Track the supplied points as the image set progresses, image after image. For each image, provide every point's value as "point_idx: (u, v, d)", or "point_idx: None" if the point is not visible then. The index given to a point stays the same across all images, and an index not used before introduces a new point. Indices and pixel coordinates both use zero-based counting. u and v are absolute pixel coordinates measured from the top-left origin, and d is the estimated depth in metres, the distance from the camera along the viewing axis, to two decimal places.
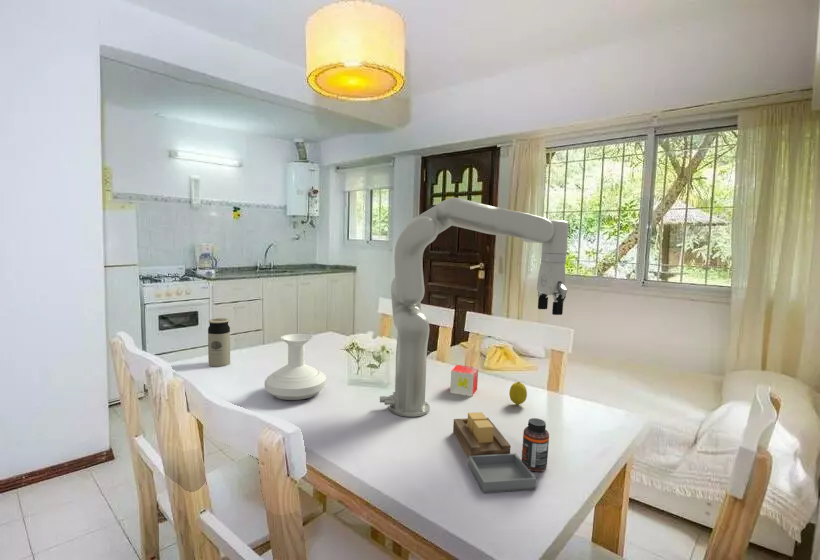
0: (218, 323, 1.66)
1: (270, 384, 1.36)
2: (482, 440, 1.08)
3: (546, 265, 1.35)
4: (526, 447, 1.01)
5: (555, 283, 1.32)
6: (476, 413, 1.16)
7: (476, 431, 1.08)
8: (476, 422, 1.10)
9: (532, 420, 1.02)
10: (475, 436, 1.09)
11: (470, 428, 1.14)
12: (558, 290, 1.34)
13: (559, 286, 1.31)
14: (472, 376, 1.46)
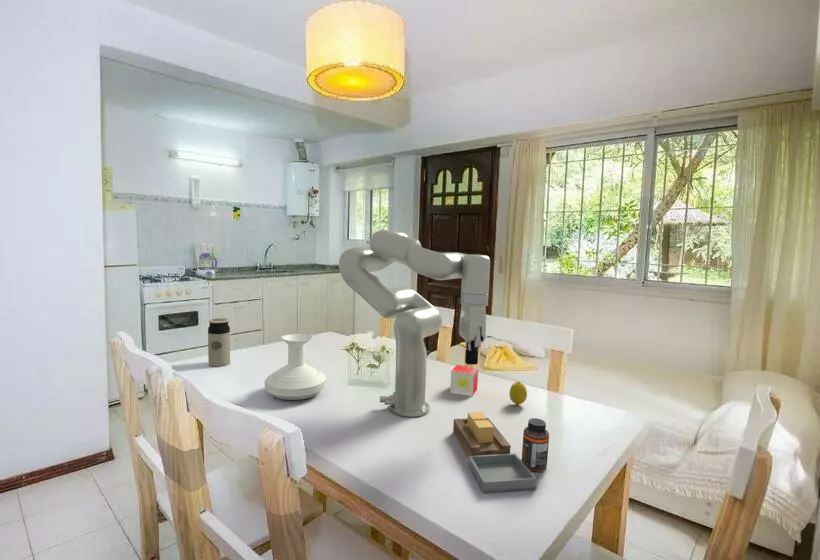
0: (218, 323, 1.66)
1: (270, 384, 1.36)
2: (482, 440, 1.08)
3: (466, 307, 1.17)
4: (526, 447, 1.01)
5: (473, 329, 1.14)
6: (476, 413, 1.16)
7: (476, 431, 1.08)
8: (476, 422, 1.10)
9: (532, 420, 1.02)
10: (475, 436, 1.09)
11: (470, 428, 1.14)
12: None
13: (476, 343, 1.15)
14: (472, 376, 1.46)
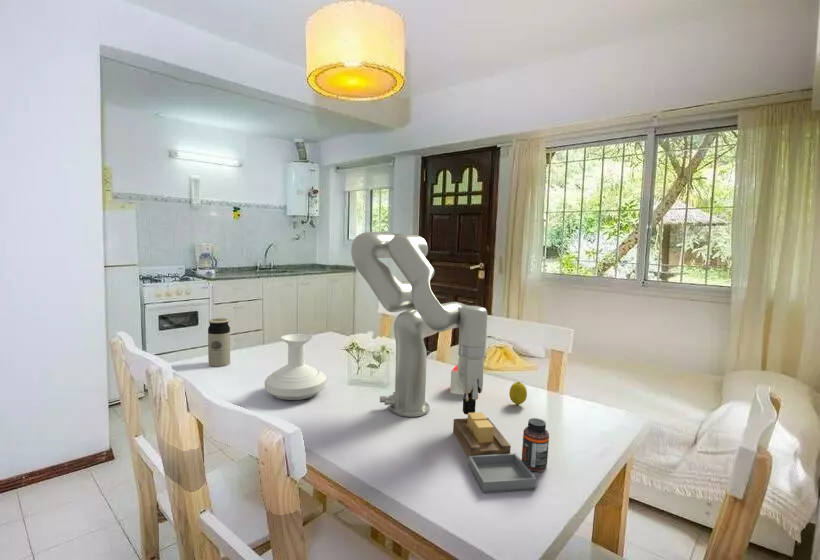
0: (218, 323, 1.66)
1: (270, 384, 1.36)
2: (482, 440, 1.08)
3: (463, 358, 1.19)
4: (526, 447, 1.01)
5: (471, 381, 1.15)
6: (476, 413, 1.16)
7: (476, 431, 1.08)
8: (476, 422, 1.10)
9: (532, 420, 1.02)
10: (475, 436, 1.09)
11: (470, 428, 1.14)
12: None
13: (473, 395, 1.16)
14: None
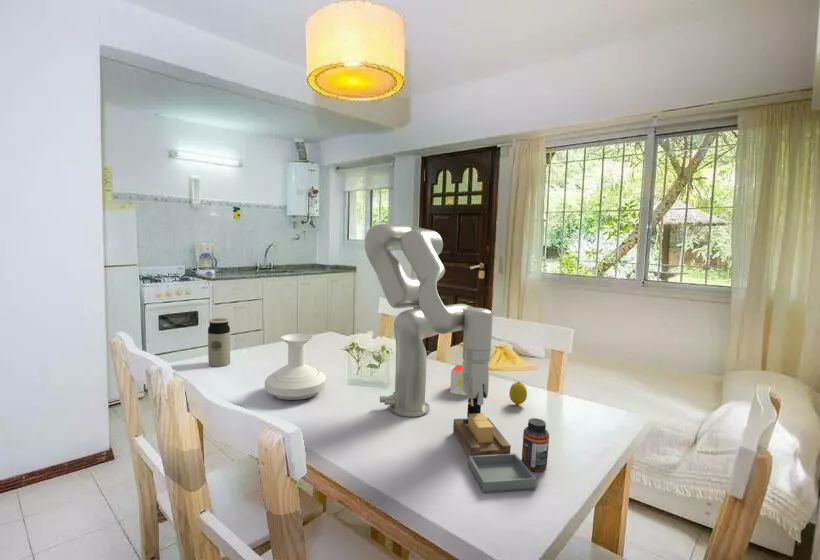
0: (218, 323, 1.66)
1: (270, 384, 1.36)
2: (482, 440, 1.08)
3: (468, 362, 1.15)
4: (526, 447, 1.01)
5: (476, 386, 1.11)
6: (477, 414, 1.15)
7: (476, 431, 1.08)
8: (476, 422, 1.10)
9: (532, 420, 1.02)
10: (475, 436, 1.09)
11: (471, 429, 1.13)
12: None
13: (478, 400, 1.12)
14: None
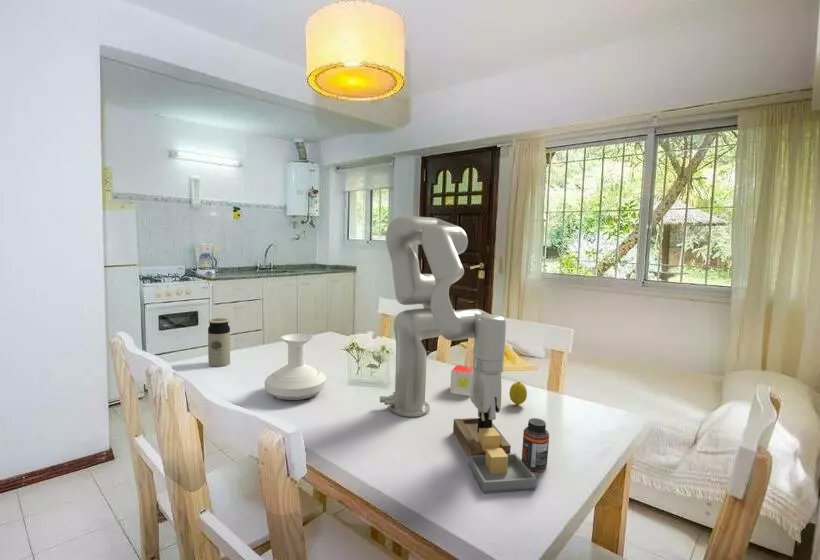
0: (218, 323, 1.66)
1: (270, 384, 1.36)
2: None
3: (479, 373, 1.06)
4: (526, 447, 1.01)
5: (488, 399, 1.03)
6: (488, 429, 1.06)
7: (488, 466, 0.99)
8: (493, 461, 0.98)
9: (532, 420, 1.02)
10: (486, 458, 1.01)
11: (482, 445, 1.04)
12: None
13: (490, 415, 1.03)
14: None
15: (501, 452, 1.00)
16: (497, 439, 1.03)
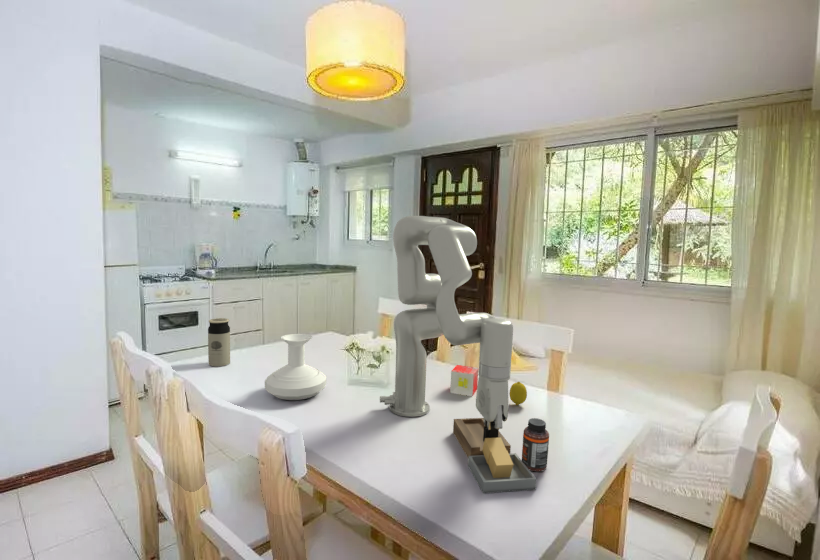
0: (218, 323, 1.66)
1: (270, 384, 1.36)
2: None
3: (485, 380, 1.01)
4: (526, 447, 1.01)
5: (494, 408, 0.98)
6: (494, 439, 1.02)
7: (492, 469, 0.97)
8: (497, 468, 0.95)
9: (532, 420, 1.02)
10: (490, 459, 0.99)
11: (486, 457, 1.01)
12: None
13: (497, 424, 0.99)
14: (472, 376, 1.46)
15: (506, 457, 0.97)
16: None
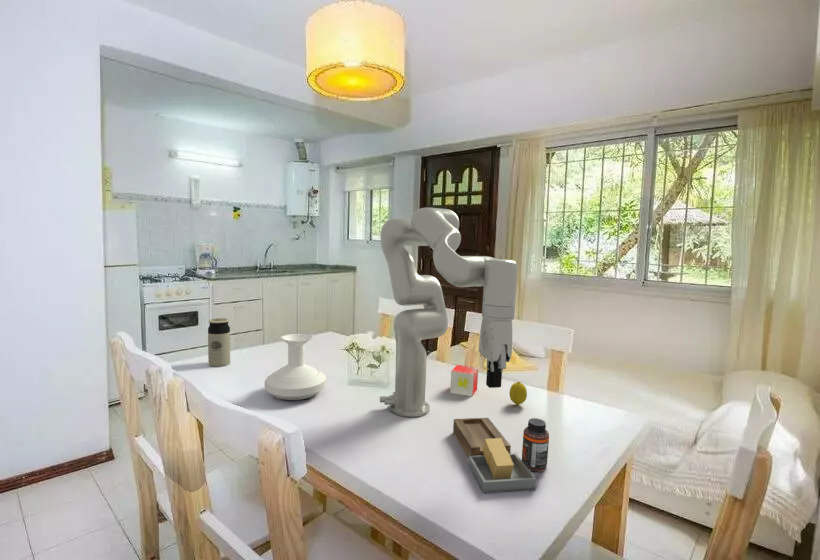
0: (218, 323, 1.66)
1: (270, 384, 1.36)
2: None
3: (488, 321, 1.00)
4: (526, 447, 1.01)
5: (498, 347, 0.96)
6: (494, 440, 1.02)
7: (492, 469, 0.97)
8: (497, 469, 0.95)
9: (532, 420, 1.02)
10: (490, 460, 0.98)
11: (486, 457, 1.01)
12: None
13: (500, 363, 0.97)
14: (472, 376, 1.46)
15: (507, 457, 0.97)
16: None
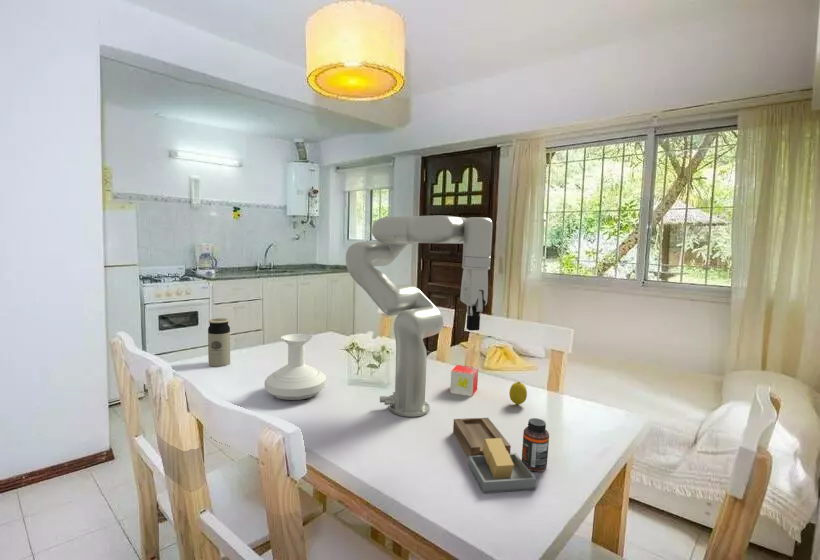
0: (218, 323, 1.66)
1: (270, 384, 1.36)
2: None
3: (467, 271, 1.14)
4: (526, 447, 1.01)
5: (475, 292, 1.11)
6: (494, 440, 1.02)
7: (492, 469, 0.97)
8: (497, 469, 0.95)
9: (532, 420, 1.02)
10: (490, 460, 0.98)
11: (486, 457, 1.01)
12: None
13: (477, 307, 1.12)
14: (472, 376, 1.46)
15: (507, 457, 0.97)
16: None
